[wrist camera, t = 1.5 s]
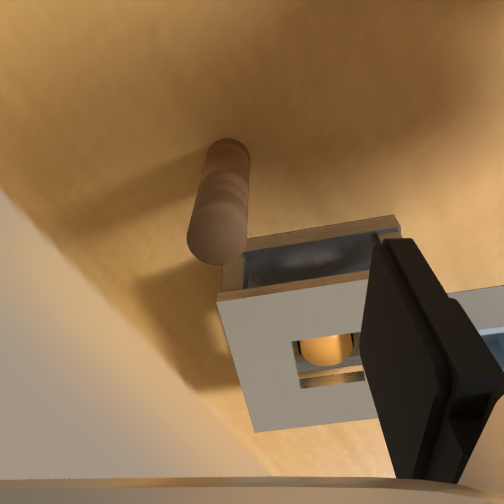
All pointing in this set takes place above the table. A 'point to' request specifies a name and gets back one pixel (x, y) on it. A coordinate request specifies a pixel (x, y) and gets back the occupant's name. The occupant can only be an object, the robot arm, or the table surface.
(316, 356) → the button
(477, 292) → the pen holder
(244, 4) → the table surface
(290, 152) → the table surface
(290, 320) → the box
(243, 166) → the dowel
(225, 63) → the table surface
